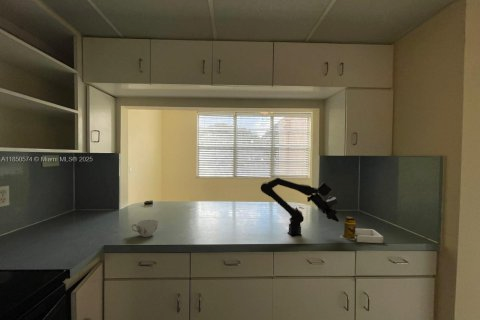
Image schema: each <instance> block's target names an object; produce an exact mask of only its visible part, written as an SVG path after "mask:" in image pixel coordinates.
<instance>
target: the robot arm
mask: <svg viewBox="0 0 480 320" xmlns="http://www.w3.org/2000/svg"><path fill="white" fill-rule="evenodd" d="M277 186H282V187H284V188H288V189H291V190H295V191H297V192H299V193H301V194H303V195H305V196H306V198H307V199H306V200H307V202H308V203H310V202H312V203H313V204H314V205H315V207H317V209H319V210H320V211H321V213H323V214H324V215H325V216H324V217H326V219H327V220H332V221H335V222H337V223H338V222H340V220H339V218H338V217H337V215H336V214H337V213H338V212H337V210H336V209H335V208H333V207H332V206H335V205H339V201H338V199H337V197H336V196H331V195H329V194H330V193H331V192H332V191H333V189H332V188H331V187H330V186H328V184H326V183H325V182H322V183H321V184H320V185H319V186H318V187H314V186H313V187H312V186H311V185H309V184H305V183H304V184H301V183H296V182H292V181H289V180H287V179H283V178H280V177H276V178H273V179H272V180H269V181H268V182H267V181H266V182H263V183H262V184H261V186H260V192H262V193H263V194H265V195H266V196H268V197H270V198H271V199H272V200H274V201H275V202H276V203H277V204H278V205H279V206H280V207H281V208H282V209H284V210H285V211H286V212H287V213H288V214H289V215H290V218H289V219H288V220H289V224H288V231H287V234H288V235H290V236H291V237H300V236H301V237H302V235H303V234H302V226H301V223H302V222H304V216H303V212H302V211H301V210H299V208H298V207H295V208H294V207H292V206H291V205H290V204H289V203H288V202H287V201H286V200H284V199H283V198H282V196H281V195H279V194H278V193H277V192H276V191H275V190H274V188H276V187H277ZM328 195H329V196H328ZM326 196H328V198H327V200H325V199H324V198H323V197H325V198H326Z"/></svg>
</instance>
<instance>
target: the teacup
mask: <svg viewBox="0 0 480 320" xmlns="http://www.w3.org/2000/svg"><path fill="white" fill-rule="evenodd" d="M158 226H159V221H158V220H156V219H143V220H139V221H136V222H135V223H133V224H131V226H130V227H131V230H132V231H133V232H136V233H138V234H139V235H140V236H141V237H142V238H149V237H152V236H153V235H154V234H155V233H156V231H157V229H158ZM134 227H135V229H134Z"/></svg>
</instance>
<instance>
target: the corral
mask: <svg viewBox="0 0 480 320" xmlns="http://www.w3.org/2000/svg"><path fill="white" fill-rule="evenodd" d="M355 236H356V242H359V243H371V244H372V243H373V244H374V243H375V244H383V243H384V236H383V235H382V234H380V233H379V232H378V231H376V230H375V229H372V228H371V229H370V228H357V227H356V228H355Z"/></svg>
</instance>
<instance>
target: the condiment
mask: <svg viewBox="0 0 480 320" xmlns="http://www.w3.org/2000/svg"><path fill="white" fill-rule="evenodd" d="M356 225H357V224H356V218H355V217H353V216H345V218H344V226H343V227H344V229H343V233H341V234H340V236H339V238H341V239H346V240H351V241H355V240H357V236H356V235H355V228H356V229H357V227H356Z"/></svg>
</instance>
